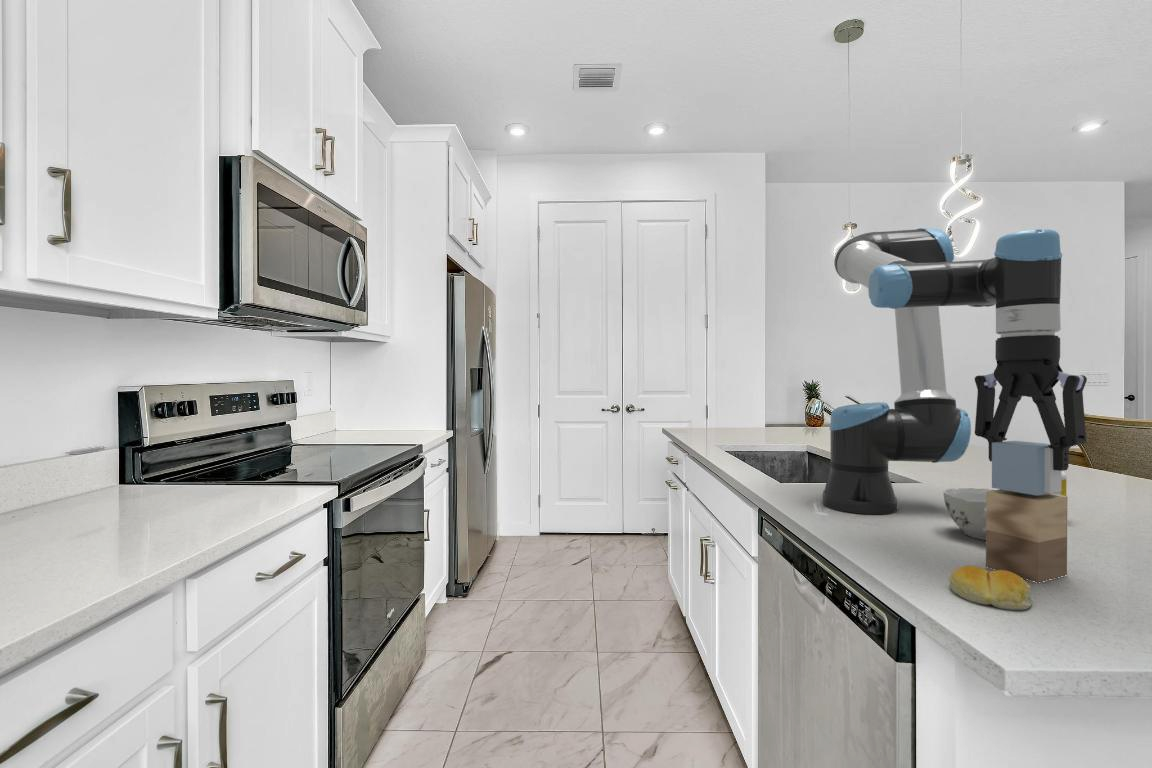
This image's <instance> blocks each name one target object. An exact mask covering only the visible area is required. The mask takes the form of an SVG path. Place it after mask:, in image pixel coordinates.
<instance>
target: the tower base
mask: <svg viewBox="0 0 1152 768" xmlns="http://www.w3.org/2000/svg"><path fill="white" fill-rule="evenodd" d="M986 567H988V568H987V569H989V568H992V569H995V570H1006V571H1010V572H1012V573H1014V574H1016V575H1018V576H1020V577H1021V578H1025V579H1028V580H1031V581H1035V582H1037V583H1039V582H1043V581H1046V580H1049V579H1054V578H1058V577H1061V576H1065V575H1067V576H1068V536H1067V537H1063V538H1058V539H1053V540H1048V541H1044V542H1039V543H1038V542H1034V541H1030V540H1026V539H1022V538H1018V537H1014V536H1010V535H1006V534H1002V533H998V532H994V531H990V530H986V540H985V568H986ZM992 569H991V570H992ZM995 570H994V571H995ZM1028 580H1027V581H1028ZM1031 581H1030V582H1031ZM1037 583H1036V584H1037ZM1043 583H1044V582H1043ZM1039 584H1040V583H1039Z"/></svg>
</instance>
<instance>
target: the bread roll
mask: <svg viewBox="0 0 1152 768" xmlns="http://www.w3.org/2000/svg"><path fill="white" fill-rule="evenodd" d="M948 580H949V588H950V590H951V591H952V592H953V593H954V594H956V595H957V596H959V597H961V598H963V600H964V599H965V600H966V601H968V602H972V603H975V604H979V605H983V606H989V605H992V606H993V607H995V608H997V609H1003V610H1011V611H1023V610H1028V609H1030V607H1031V606H1032V601H1033V596H1032V595H1033V588H1032V586H1031V585H1030V584H1029V583H1028V582H1027V580H1024V579H1022V578H1021V577H1020V576H1018V575H1016V574H1014V573H1012V572H1010V571H1006V570H992V571H989V570H987V569H985V568H983V567H981V566H977V565H965V566H961V567H960V566H959V567H958V568H957V569H955V570H954V571H952V572H951V573H950V576H949V579H948Z"/></svg>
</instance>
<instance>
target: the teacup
mask: <svg viewBox="0 0 1152 768" xmlns="http://www.w3.org/2000/svg"><path fill="white" fill-rule="evenodd" d="M992 490H993V489H989V488H976V487H975V488H973V487H972V488H968V487H967V488H966V487H963V488H945V489H944V490H943V498H944V499H943V500H944V503H945V506H946V510H947V511H948V515H949V516H950V517H951V519H952V521H953V522H954V523H955V524H956V526H958V528H960V529H961V530H962V531H963V533H964V534H965V535H966V536H968V537H970V538H973V539H978V540H982V541H986V491H992Z"/></svg>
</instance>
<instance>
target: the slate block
mask: <svg viewBox="0 0 1152 768" xmlns="http://www.w3.org/2000/svg"><path fill="white" fill-rule="evenodd" d="M1048 445H1051V444H1050V443H1045V442H1033V441H1025V440H1023V441H1022V440H1021V441H1020V440H1009V441H1002V442H995V443H992V462H991V488H992V489H995V490H999V489H1002V490H1007V491H1013V492H1019V493H1025V494H1031V495H1036V496H1038V495H1045V494H1051V493H1045V492H1044V448H1049V447H1048ZM1061 483H1062V471H1061ZM1056 493H1058V492H1056Z"/></svg>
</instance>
